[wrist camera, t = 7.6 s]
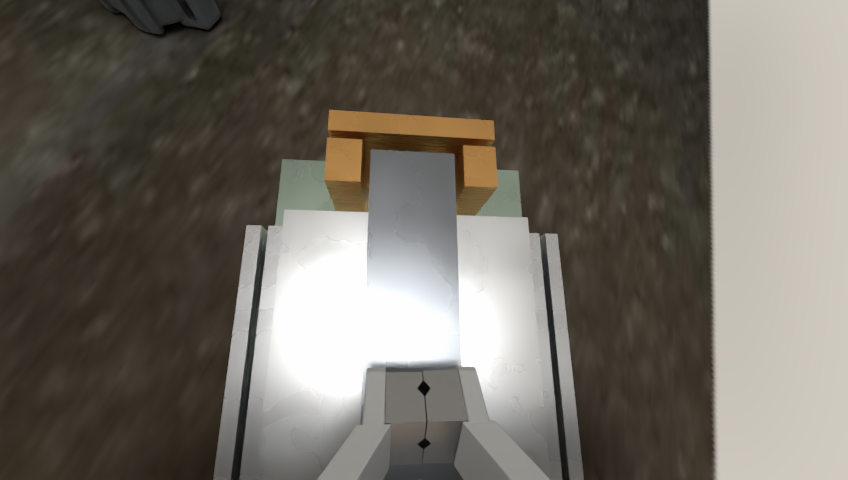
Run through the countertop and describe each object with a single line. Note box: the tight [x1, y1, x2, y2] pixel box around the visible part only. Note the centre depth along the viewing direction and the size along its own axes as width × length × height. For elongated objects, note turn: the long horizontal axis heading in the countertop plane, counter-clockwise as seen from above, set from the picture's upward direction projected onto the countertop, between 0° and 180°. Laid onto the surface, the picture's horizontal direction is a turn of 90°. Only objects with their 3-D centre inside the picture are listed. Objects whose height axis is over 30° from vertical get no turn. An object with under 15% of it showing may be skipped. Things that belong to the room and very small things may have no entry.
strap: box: [360, 149, 463, 480], centre depth 11 cm, size 18×3×1 cm, turn 0°
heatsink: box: [213, 110, 584, 480], centre depth 13 cm, size 22×12×8 cm, turn 0°
